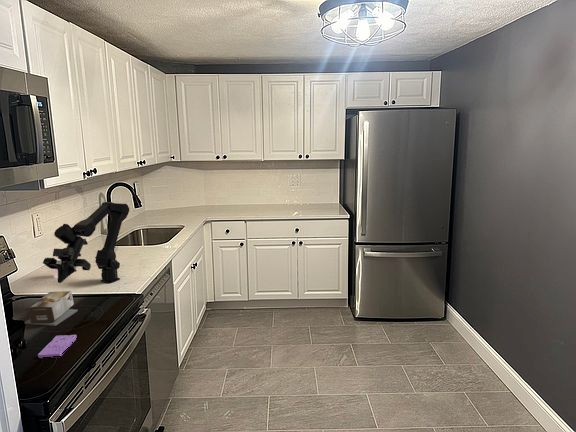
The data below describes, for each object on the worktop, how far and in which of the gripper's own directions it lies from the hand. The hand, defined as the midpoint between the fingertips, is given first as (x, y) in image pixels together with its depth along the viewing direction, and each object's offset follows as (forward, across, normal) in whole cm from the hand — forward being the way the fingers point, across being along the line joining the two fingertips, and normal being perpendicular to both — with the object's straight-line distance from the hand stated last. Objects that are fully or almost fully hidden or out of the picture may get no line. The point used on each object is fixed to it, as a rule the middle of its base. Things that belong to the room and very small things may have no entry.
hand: (59, 282), depth 170 cm
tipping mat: (+14, +2, +1) cm, 14 cm away
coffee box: (+5, 0, +5) cm, 7 cm away
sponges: (+29, +21, -13) cm, 38 cm away
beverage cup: (-16, -26, +31) cm, 44 cm away
